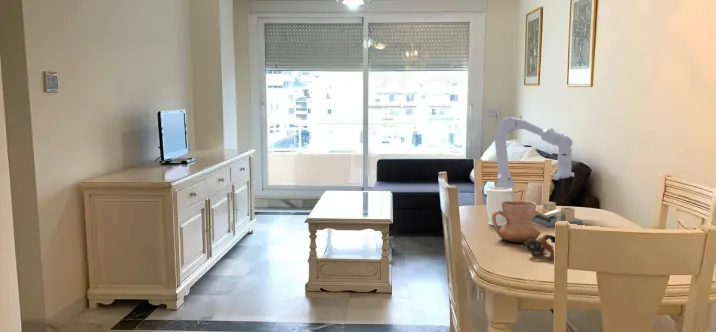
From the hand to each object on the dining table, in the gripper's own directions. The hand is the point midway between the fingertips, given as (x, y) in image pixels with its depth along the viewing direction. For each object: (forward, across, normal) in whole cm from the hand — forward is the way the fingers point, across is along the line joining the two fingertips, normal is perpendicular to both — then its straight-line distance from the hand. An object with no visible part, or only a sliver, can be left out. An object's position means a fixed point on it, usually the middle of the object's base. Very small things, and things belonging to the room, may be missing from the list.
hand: (563, 194), depth 256 cm
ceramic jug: (+10, -54, -11) cm, 56 cm away
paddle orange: (+8, -12, +1) cm, 14 cm away
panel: (+10, -13, -3) cm, 17 cm away
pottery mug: (+10, -67, -30) cm, 74 cm away
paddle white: (+8, -13, -3) cm, 16 cm away
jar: (+10, -34, +10) cm, 37 cm away
